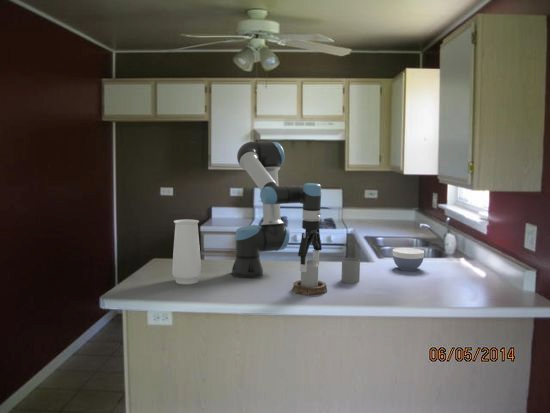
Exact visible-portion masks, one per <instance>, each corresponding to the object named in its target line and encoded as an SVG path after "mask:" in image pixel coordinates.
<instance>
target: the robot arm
mask: <svg viewBox="0 0 550 413" xmlns="http://www.w3.org/2000/svg"><path fill="white" fill-rule="evenodd" d="M282 146H283V145H281V144H280V143H279V142H276V141H247V142H245V143H243V144H242V145H241V146H240V147H239V149H238V151H237V154H236V157H237V158H236V160H237V163H238V164H239V167H240V168H241V169H243V170H245V171H246V172H247V174H248V175H249V176H250V178H251V179H252V181H253V182H254V184H256V186H257V187H258V189H259V190H260V192H259V198H260V200H261V203H262V214H263V215H262V216H263V221H262V222H261V223H260V225H257V224H256V225H255V224H252V225H251V224H249V225H244V226H240V227H239V228H237V229H236V230H235V237H234V238H235V260H234V262H233V265H232V269H231V275H232V276H233V277H238V278H244V279H245V278H258V277H261V276H263V275H264V269H263V265H262V263H261V258H260V257H261V256H260V253H263V252H264V253H266V252H274V251H275V252H278V251H283V250H285V249H286V248H287V247H288V245H289V243H290V239H291V238H290V237H291V236H290V230H289V228H288V227H287V226H286V225H285V222H284V221H283V220H282V219H281V217H282V216H281V205H283V204H302V223H301V224H302V225H301V228H302V229H303V230H305V232H301V240H300V243H299V248H298V253H297V256H298V257H300V259H299V261H300V263H299V264H300V265H299V268H300V269H299V272H300V273H301V272H307V260H308V256H307V255H308V252H309V248H310V246H311V244H312V247H313V250H312V260H313V261H316V262H317V264H318V266H319V265H320V251H322V250H323V248H322V241H321V234H320V228H321V220H320V219H321V215H322V213H321V203H322V202H321V201H322V185H321V184H319V183H311V182H307V183H304V184H303V185H295V184H294V185H291V186H289V185H288V186H280V185H279V171H280V169H281V166H282V165H283V164H284V162H285V152H284V148H283V147H282Z"/></svg>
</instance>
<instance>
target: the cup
mask: <svg viewBox="0 0 550 413" xmlns="http://www.w3.org/2000/svg"><path fill="white" fill-rule="evenodd" d="M360 270H361V259H360V258H356V257H344V258H341V282H342V283H347V284H358V283H360V277H361V276H360V275H361V274H360V273H361V272H360Z"/></svg>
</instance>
